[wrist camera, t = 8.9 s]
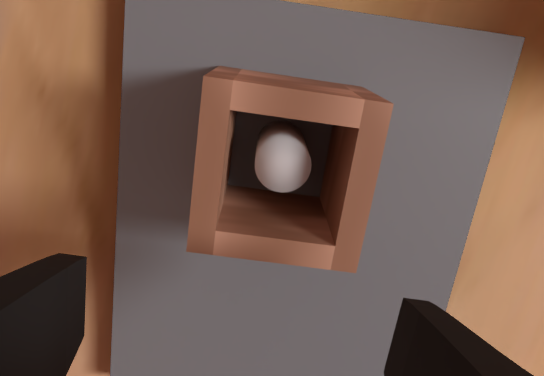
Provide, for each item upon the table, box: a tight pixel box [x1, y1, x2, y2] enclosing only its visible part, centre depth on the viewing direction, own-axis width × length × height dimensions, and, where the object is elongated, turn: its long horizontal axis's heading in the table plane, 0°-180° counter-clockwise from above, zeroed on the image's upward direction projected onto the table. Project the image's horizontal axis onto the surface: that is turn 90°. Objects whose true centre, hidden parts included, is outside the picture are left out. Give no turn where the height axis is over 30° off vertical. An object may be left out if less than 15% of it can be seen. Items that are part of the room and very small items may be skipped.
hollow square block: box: [186, 66, 394, 273], centre depth 16 cm, size 5×5×4 cm
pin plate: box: [110, 0, 525, 376], centre depth 18 cm, size 14×17×4 cm
